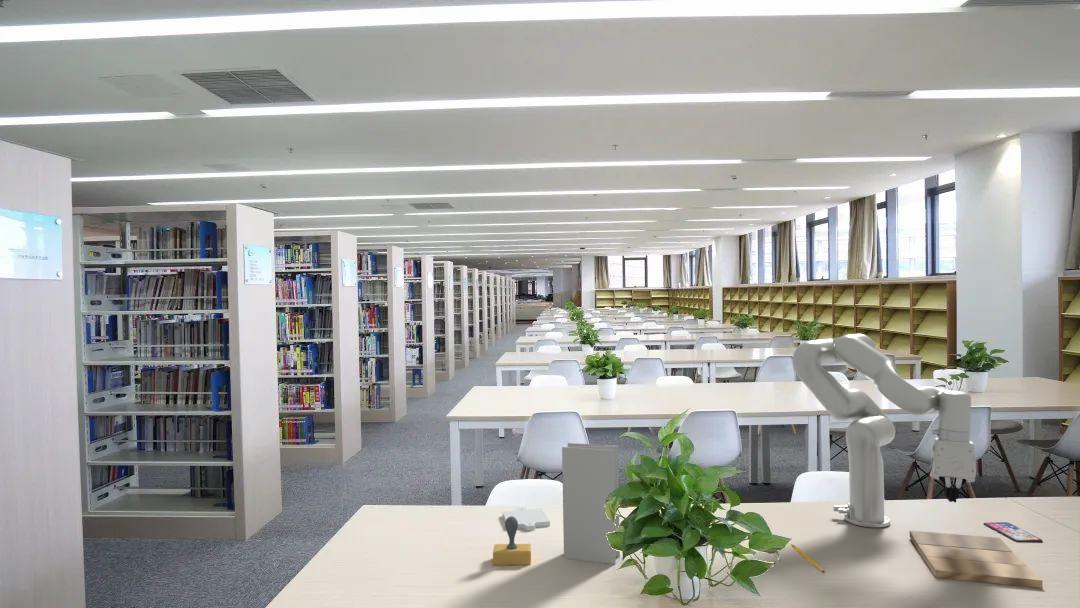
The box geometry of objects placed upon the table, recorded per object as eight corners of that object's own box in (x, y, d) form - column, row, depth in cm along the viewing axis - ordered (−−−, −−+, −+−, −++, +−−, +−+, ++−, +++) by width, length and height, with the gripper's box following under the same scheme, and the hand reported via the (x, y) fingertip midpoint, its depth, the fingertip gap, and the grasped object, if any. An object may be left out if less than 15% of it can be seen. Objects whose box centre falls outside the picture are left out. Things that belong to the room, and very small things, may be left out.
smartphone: (1015, 540, 181) (982, 522, 196) (1016, 544, 181) (982, 525, 196) (1044, 540, 180) (1008, 522, 195) (1044, 543, 180) (1008, 525, 195)
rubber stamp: (493, 566, 171) (492, 520, 171) (494, 557, 177) (493, 513, 177) (530, 565, 171) (529, 520, 171) (531, 556, 177) (530, 512, 177)
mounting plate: (501, 515, 213) (501, 509, 213) (540, 511, 216) (540, 506, 216) (509, 534, 195) (509, 527, 195) (551, 530, 198) (551, 524, 198)
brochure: (620, 556, 176) (618, 445, 175) (615, 564, 170) (613, 450, 170) (569, 550, 180) (567, 442, 180) (563, 558, 175) (562, 447, 175)
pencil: (822, 574, 163) (822, 571, 163) (789, 545, 182) (789, 543, 182) (825, 573, 163) (825, 571, 163) (792, 545, 182) (792, 542, 182)
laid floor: (935, 577, 159) (935, 570, 159) (917, 550, 176) (917, 544, 176) (1042, 588, 152) (1042, 580, 152) (1013, 559, 169) (1012, 552, 169)
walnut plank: (917, 549, 176) (917, 543, 176) (909, 536, 185) (909, 530, 185) (1012, 558, 170) (1012, 551, 170) (999, 544, 178) (999, 537, 178)
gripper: (926, 436, 180) (924, 501, 180) (989, 441, 175) (987, 508, 175) (920, 430, 187) (918, 493, 187) (980, 434, 182) (978, 499, 182)
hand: (951, 500), depth 181 cm, fingers closed
